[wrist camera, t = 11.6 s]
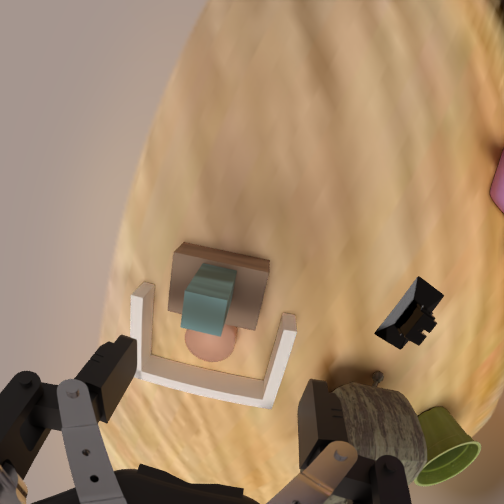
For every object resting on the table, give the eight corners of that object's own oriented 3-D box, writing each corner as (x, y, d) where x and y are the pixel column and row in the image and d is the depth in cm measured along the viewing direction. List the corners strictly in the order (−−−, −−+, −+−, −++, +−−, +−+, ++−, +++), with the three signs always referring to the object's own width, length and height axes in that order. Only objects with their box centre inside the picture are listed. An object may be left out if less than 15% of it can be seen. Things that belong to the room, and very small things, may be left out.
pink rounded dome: (192, 303, 38) (186, 315, 35) (240, 313, 38) (237, 325, 35) (189, 343, 40) (183, 356, 37) (233, 352, 40) (230, 365, 37)
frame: (143, 281, 37) (131, 294, 33) (295, 314, 37) (297, 331, 33) (141, 359, 41) (131, 376, 37) (271, 389, 41) (271, 409, 37)
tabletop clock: (345, 430, 43) (367, 564, 19) (294, 421, 43) (298, 568, 19) (393, 365, 39) (456, 512, 15) (338, 351, 38) (381, 524, 14)
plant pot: (407, 402, 41) (429, 453, 30) (465, 390, 40) (492, 433, 29) (390, 446, 44) (404, 493, 33) (444, 434, 43) (463, 475, 32)
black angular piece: (396, 357, 39) (406, 376, 35) (359, 337, 38) (368, 356, 34) (451, 287, 35) (468, 302, 31) (418, 260, 35) (434, 273, 30)
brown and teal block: (184, 241, 36) (149, 276, 25) (269, 260, 36) (267, 303, 25) (177, 295, 38) (145, 344, 27) (257, 313, 38) (250, 369, 27)
